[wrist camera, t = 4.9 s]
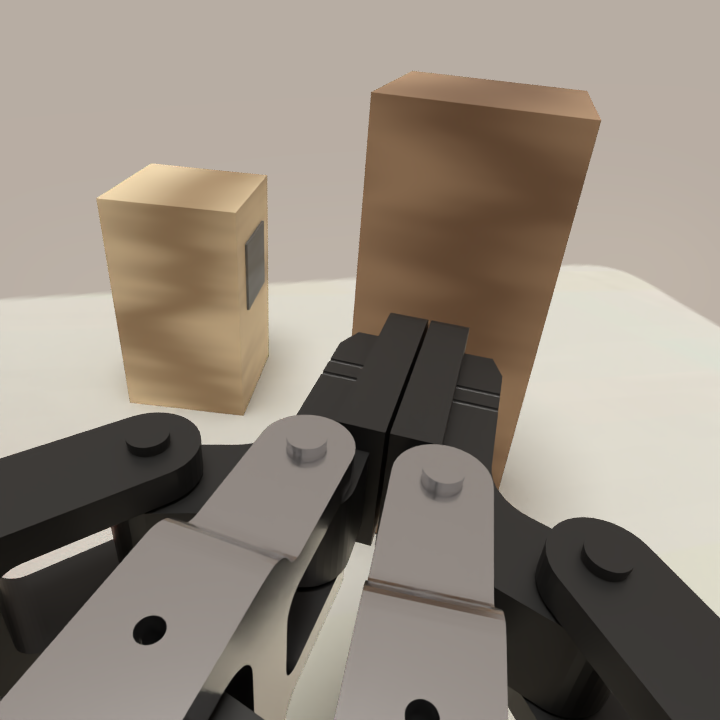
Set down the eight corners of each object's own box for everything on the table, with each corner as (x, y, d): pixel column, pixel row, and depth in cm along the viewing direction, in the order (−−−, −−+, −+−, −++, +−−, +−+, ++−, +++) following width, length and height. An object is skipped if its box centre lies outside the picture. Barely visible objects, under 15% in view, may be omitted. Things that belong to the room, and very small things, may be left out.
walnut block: (337, 522, 21) (371, 92, 13) (371, 436, 25) (412, 70, 17) (481, 560, 20) (606, 121, 12) (492, 464, 24) (590, 91, 16)
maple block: (130, 402, 26) (96, 198, 21) (171, 344, 30) (151, 163, 25) (245, 415, 25) (238, 213, 21) (270, 355, 30) (269, 175, 25)
